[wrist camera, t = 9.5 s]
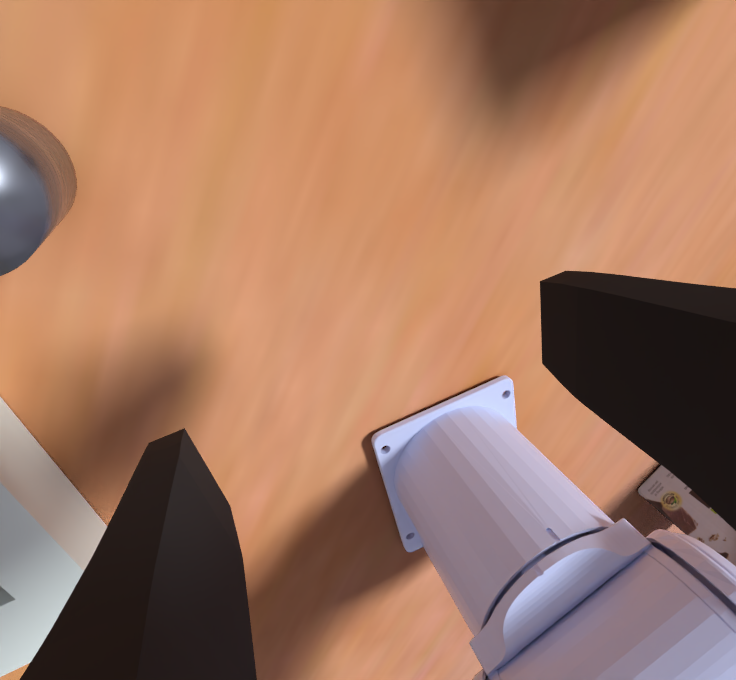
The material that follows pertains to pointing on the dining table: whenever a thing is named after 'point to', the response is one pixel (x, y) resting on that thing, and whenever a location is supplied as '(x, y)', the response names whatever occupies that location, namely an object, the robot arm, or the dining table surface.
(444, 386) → the dining table surface
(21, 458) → the board
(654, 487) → the coffee box
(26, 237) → the pin short
